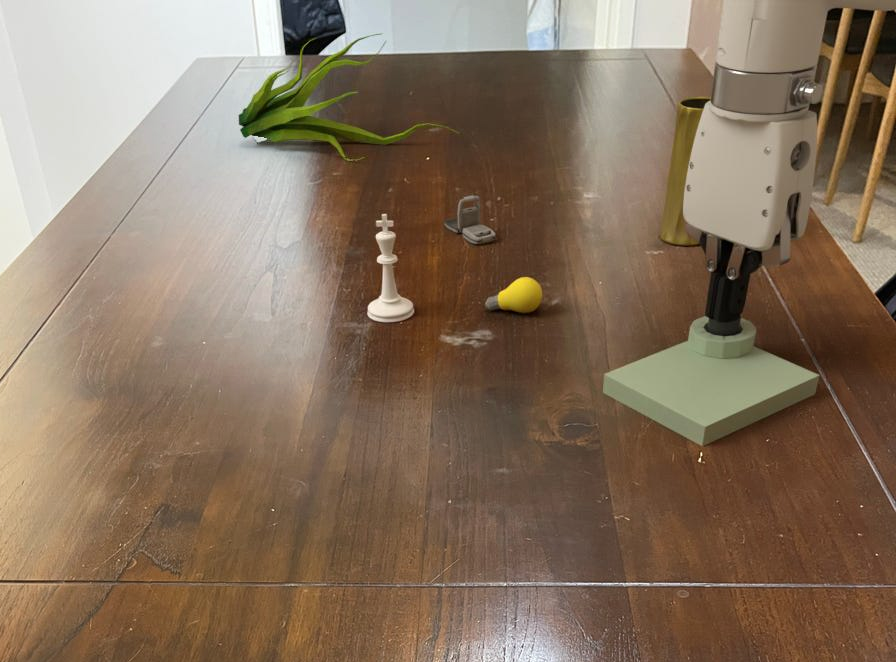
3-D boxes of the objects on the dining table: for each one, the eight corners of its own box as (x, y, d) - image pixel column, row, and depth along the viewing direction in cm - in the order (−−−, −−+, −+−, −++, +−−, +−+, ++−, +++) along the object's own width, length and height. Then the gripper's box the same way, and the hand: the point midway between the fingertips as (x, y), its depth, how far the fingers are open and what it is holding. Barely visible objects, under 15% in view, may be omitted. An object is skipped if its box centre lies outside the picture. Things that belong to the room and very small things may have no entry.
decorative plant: (376, 181, 139) (368, 60, 129) (235, 146, 154) (218, 36, 144) (459, 147, 148) (457, 32, 139) (318, 117, 164) (308, 12, 154)
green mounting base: (715, 344, 97) (721, 309, 94) (821, 391, 89) (830, 354, 86) (599, 391, 91) (602, 355, 88) (702, 447, 83) (708, 408, 80)
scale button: (721, 324, 93) (724, 306, 92) (744, 334, 91) (748, 316, 90) (699, 333, 92) (702, 314, 91) (723, 343, 90) (726, 324, 89)
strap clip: (498, 241, 119) (498, 204, 117) (475, 246, 118) (475, 209, 116) (463, 220, 125) (463, 184, 122) (441, 225, 124) (441, 189, 121)
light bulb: (546, 315, 103) (536, 288, 100) (490, 329, 105) (479, 303, 102) (546, 293, 105) (537, 266, 102) (491, 307, 107) (481, 280, 104)
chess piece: (371, 302, 108) (364, 206, 101) (417, 303, 107) (412, 206, 100) (363, 322, 104) (355, 223, 97) (410, 323, 103) (405, 223, 97)
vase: (681, 250, 114) (698, 113, 105) (647, 234, 119) (661, 101, 109) (723, 239, 116) (744, 103, 107) (689, 224, 121) (706, 92, 111)
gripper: (874, 98, 75) (819, 332, 87) (722, 65, 85) (691, 280, 97) (807, 117, 72) (759, 356, 84) (657, 80, 82) (634, 300, 94)
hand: (723, 315), depth 90 cm, fingers closed
